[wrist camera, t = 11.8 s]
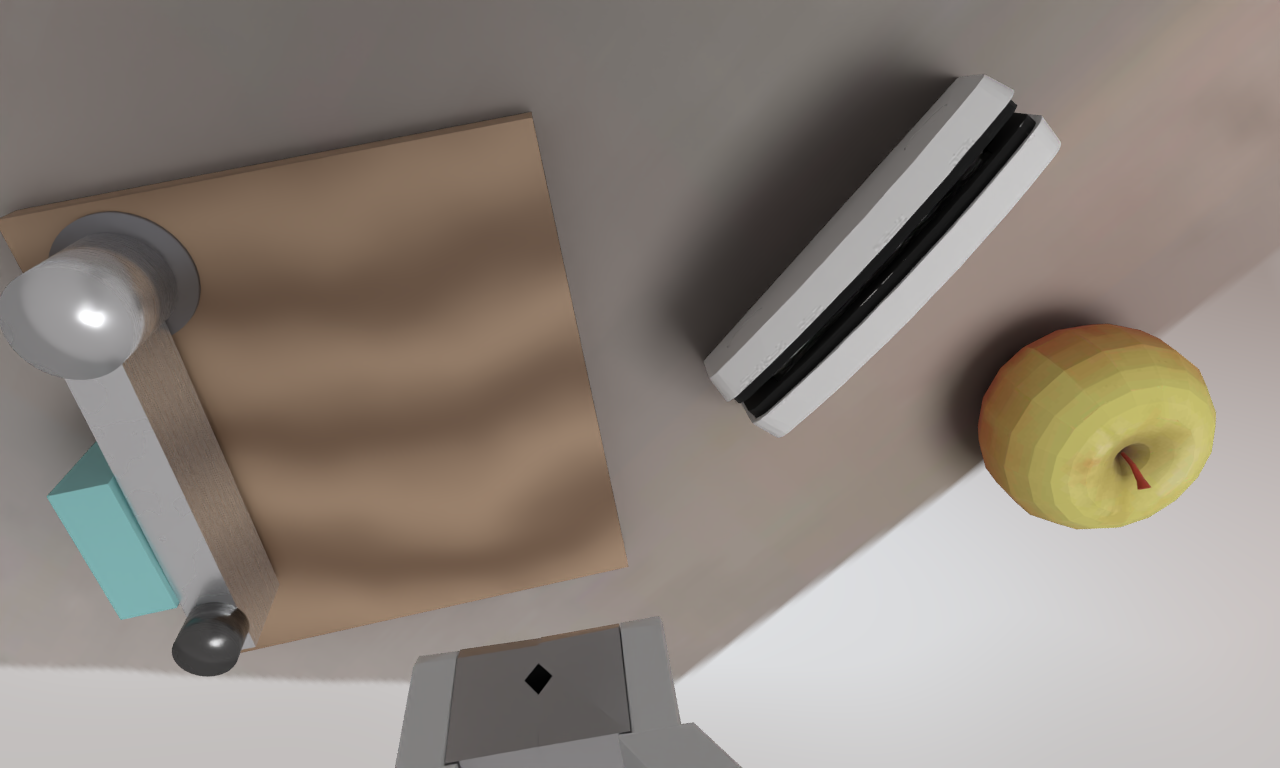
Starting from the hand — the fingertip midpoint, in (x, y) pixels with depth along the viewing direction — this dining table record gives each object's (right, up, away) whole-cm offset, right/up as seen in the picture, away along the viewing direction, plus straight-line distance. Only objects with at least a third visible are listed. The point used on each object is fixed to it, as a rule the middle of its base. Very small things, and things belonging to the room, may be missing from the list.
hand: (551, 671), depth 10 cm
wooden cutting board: (-11, +3, +27) cm, 29 cm away
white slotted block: (+10, +10, +27) cm, 30 cm away
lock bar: (-18, +2, +24) cm, 30 cm away
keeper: (-19, -1, +25) cm, 32 cm away
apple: (+22, +3, +32) cm, 39 cm away
